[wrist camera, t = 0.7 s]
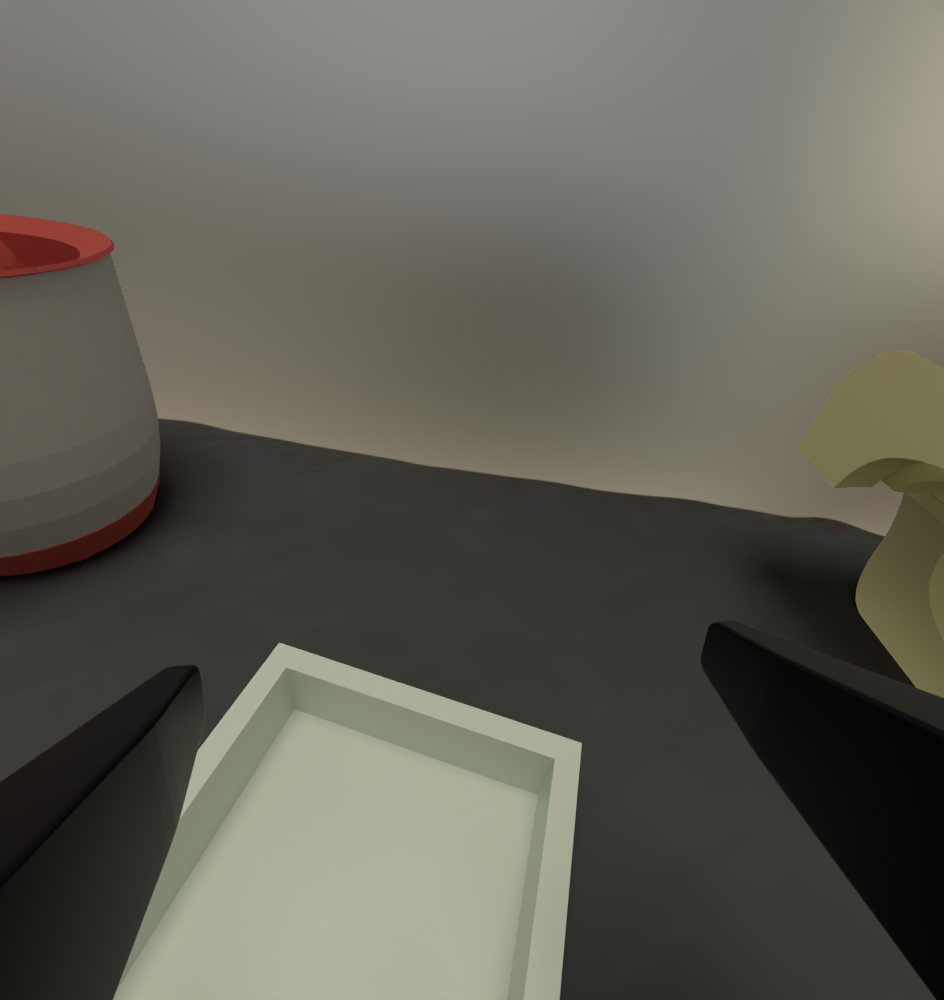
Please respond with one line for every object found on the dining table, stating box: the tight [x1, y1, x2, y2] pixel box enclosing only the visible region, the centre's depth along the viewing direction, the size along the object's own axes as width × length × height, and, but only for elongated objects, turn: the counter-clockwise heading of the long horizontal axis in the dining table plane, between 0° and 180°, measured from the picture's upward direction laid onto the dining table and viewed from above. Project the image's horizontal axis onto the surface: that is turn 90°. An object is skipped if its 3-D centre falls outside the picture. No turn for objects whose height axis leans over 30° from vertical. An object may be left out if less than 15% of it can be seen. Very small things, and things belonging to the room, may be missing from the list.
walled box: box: [113, 643, 582, 1000], centre depth 16 cm, size 14×14×4 cm
